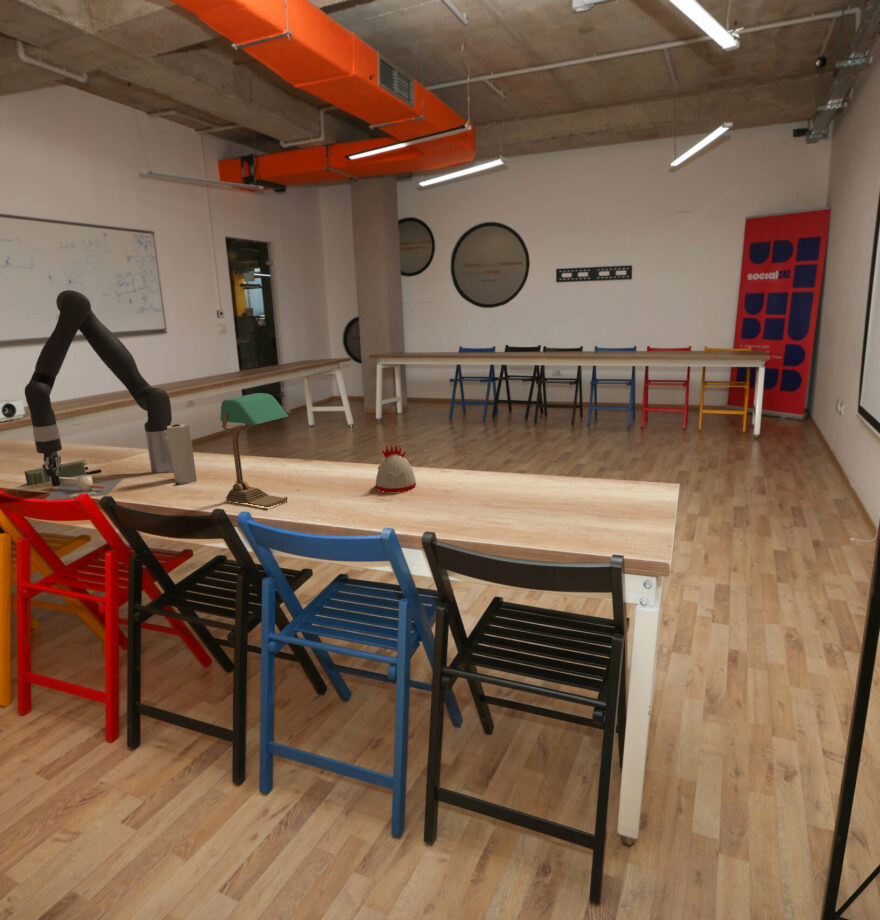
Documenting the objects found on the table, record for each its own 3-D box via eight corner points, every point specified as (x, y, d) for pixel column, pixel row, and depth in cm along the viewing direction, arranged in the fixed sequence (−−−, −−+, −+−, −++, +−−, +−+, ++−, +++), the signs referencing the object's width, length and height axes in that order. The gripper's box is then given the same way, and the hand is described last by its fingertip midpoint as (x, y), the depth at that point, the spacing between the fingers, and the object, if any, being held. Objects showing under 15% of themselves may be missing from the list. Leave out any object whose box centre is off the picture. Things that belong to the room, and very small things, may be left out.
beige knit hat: (376, 482, 221) (373, 441, 217) (414, 480, 222) (413, 439, 218) (375, 494, 207) (373, 450, 203) (416, 491, 208) (415, 448, 204)
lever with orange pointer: (110, 488, 218) (108, 476, 217) (100, 491, 214) (98, 480, 213) (60, 485, 224) (58, 473, 223) (50, 488, 220) (47, 477, 219)
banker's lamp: (254, 491, 215) (242, 390, 206) (299, 499, 204) (289, 394, 195) (217, 504, 201) (203, 398, 192) (263, 513, 191) (251, 402, 182)
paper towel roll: (172, 482, 228) (163, 425, 223) (188, 478, 233) (180, 422, 227) (181, 485, 224) (172, 428, 218) (197, 481, 228) (189, 425, 222)
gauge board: (122, 482, 231) (122, 478, 230) (107, 498, 212) (107, 494, 212) (64, 487, 227) (63, 483, 226) (43, 504, 208) (42, 499, 207)
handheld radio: (27, 487, 228) (100, 472, 245) (29, 489, 226) (103, 474, 243) (23, 470, 226) (97, 456, 243) (26, 472, 224) (100, 458, 241)
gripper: (40, 435, 219) (50, 482, 223) (28, 443, 206) (38, 492, 211) (64, 433, 221) (73, 479, 225) (53, 440, 208) (63, 489, 213)
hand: (56, 485), depth 218 cm, fingers closed
